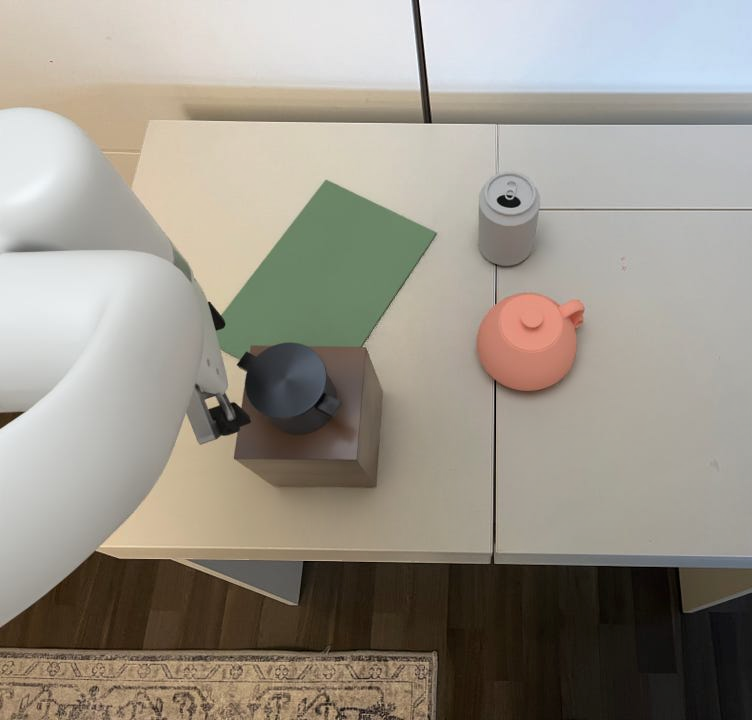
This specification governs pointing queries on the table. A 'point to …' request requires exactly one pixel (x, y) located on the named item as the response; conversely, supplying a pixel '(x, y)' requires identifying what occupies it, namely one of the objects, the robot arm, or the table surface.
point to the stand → (321, 431)
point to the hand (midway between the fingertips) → (220, 376)
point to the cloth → (326, 276)
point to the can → (507, 218)
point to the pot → (290, 387)
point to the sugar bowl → (529, 340)
